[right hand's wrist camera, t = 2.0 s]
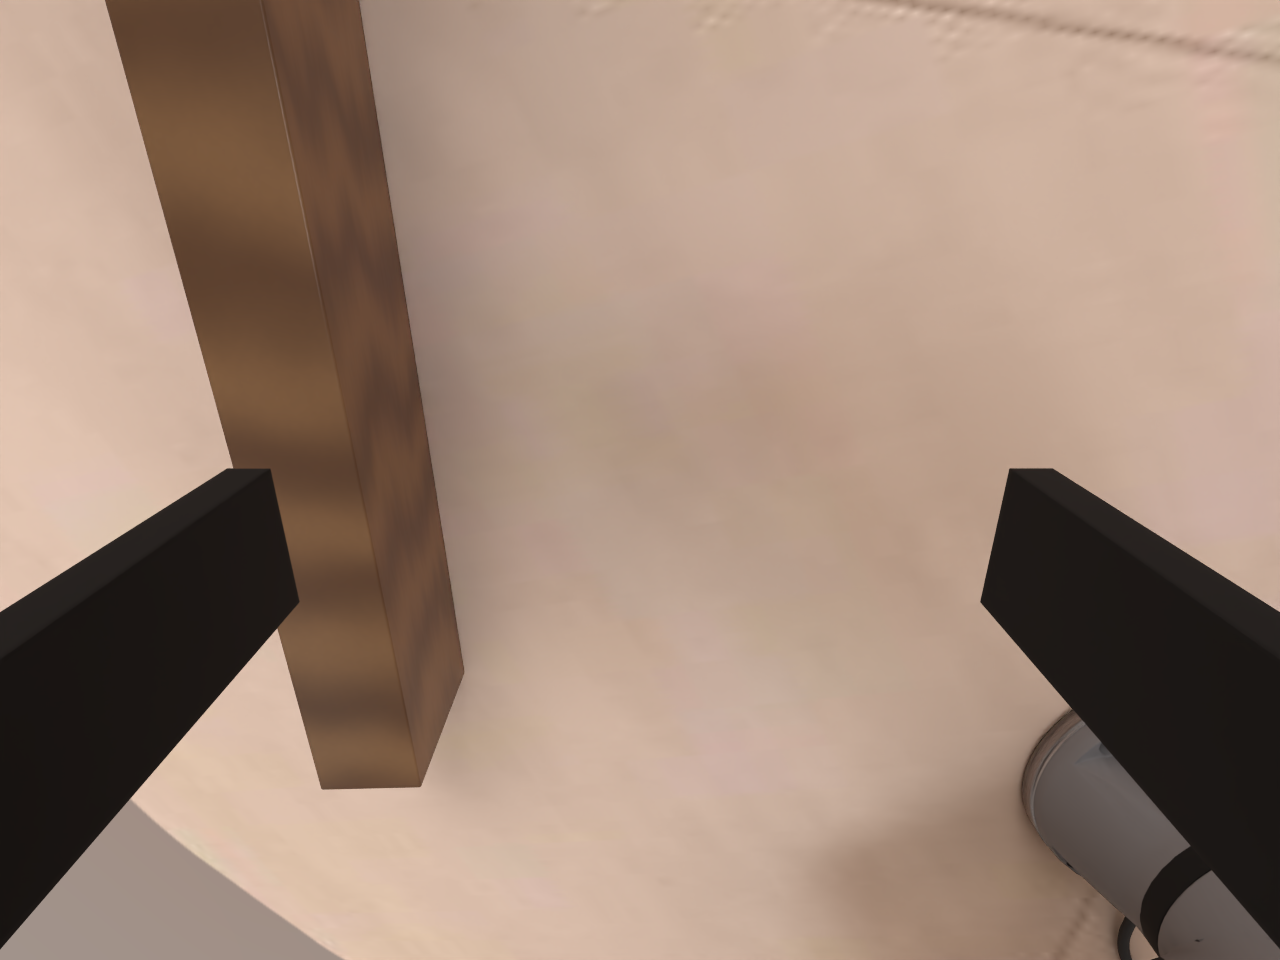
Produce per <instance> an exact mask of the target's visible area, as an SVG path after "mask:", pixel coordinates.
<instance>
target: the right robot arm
mask: <svg viewBox="0 0 1280 960" xmlns="http://www.w3.org/2000/svg"><path fill="white" fill-rule="evenodd" d="M299 602H300V601H299V596H298V592H297V587H296V583H295V578H294V574H293V569H292V565H291V560H290V555H289V551H288V546H287V542H286V537H285V533H284V528H283V524H282V519H281V514H280V510H279V505H278V501H277V496H276V492H275V487H274V482H273V478H272V473H271V469H226V470H224V471H223V472H221V473H219V474H218V475H216V476H215V477H213V478H212V479H210V480H208V481H207V482H205V483H204V484H202V485H201V486H199V487H197V488H196V489H194V490H193V491H191V492H189V493H188V494H186V495H185V496H183V497H182V498H180V499H178V500H177V501H175V502H174V503H172V504H170V505H169V506H167V507H166V508H164V509H163V510H161V511H159V512H158V513H156V514H155V515H153V516H152V517H150V518H148V519H147V520H145V521H144V522H142V523H140V524H139V525H137V526H136V527H134V528H133V529H131V530H129V531H128V532H126V533H125V534H123V535H121V536H120V537H118V538H117V539H115V540H114V541H112V542H110V543H109V544H107V545H106V546H104V547H103V548H101V549H99V550H98V551H96V552H95V553H93V554H91V555H90V556H88V557H87V558H85V559H84V560H82V561H80V562H79V563H77V564H76V565H74V566H72V567H71V568H69V569H68V570H66V571H65V572H63V573H61V574H60V575H58V576H57V577H55V578H54V579H52V580H50V581H49V582H47V583H46V584H44V585H42V586H41V587H39V588H38V589H36V590H35V591H33V592H31V593H30V594H28V595H27V596H25V597H23V598H22V599H20V600H19V601H17V602H16V603H14V604H12V605H11V606H9V607H8V608H6V609H4V610H3V611H1V612H0V949H1V948H2V947H3V945H4V944H5V943H6V942H7V941H8V940H9V938H10V937H11V936H12V935H13V934H14V933H15V932H16V930H17V929H18V928H19V927H20V926H21V925H22V923H23V922H24V921H25V920H26V919H27V918H28V916H29V915H30V914H31V913H32V912H33V911H34V910H35V908H36V907H37V906H38V905H39V904H40V903H41V901H42V900H43V899H44V898H45V897H46V896H47V894H48V893H49V892H50V891H51V890H52V889H53V887H54V886H55V885H56V884H57V883H58V882H59V881H60V879H61V878H62V877H63V876H64V875H65V874H66V872H67V871H68V870H69V869H70V868H71V867H72V865H73V864H74V863H75V862H76V861H77V860H78V859H79V857H80V856H81V855H82V854H83V853H84V852H85V850H86V849H87V848H88V847H89V846H90V845H91V843H92V842H93V841H94V840H95V839H96V838H97V836H98V835H99V834H100V833H101V832H102V831H103V830H104V828H105V827H106V826H107V825H108V824H109V823H110V821H111V820H112V819H113V818H114V817H115V816H116V814H117V813H118V812H119V811H120V810H121V809H122V807H123V806H124V805H125V804H126V803H127V802H128V801H129V799H130V798H131V797H132V796H133V795H134V794H135V792H136V791H137V790H138V789H139V788H140V787H141V785H142V784H143V783H144V782H145V781H146V780H147V779H148V777H149V776H150V775H151V774H152V773H153V772H154V770H155V769H156V768H157V767H158V766H159V765H160V763H161V762H162V761H163V760H164V759H165V758H166V756H167V755H168V754H169V753H170V752H171V751H172V750H173V748H174V747H175V746H176V745H177V744H178V743H179V741H180V740H181V739H182V738H183V737H184V736H185V734H186V733H187V732H188V731H189V730H190V729H191V728H192V726H193V725H194V724H195V723H196V722H197V721H198V719H199V718H200V717H201V716H202V715H203V714H204V712H205V711H206V710H207V709H208V708H209V707H210V705H211V704H212V703H213V702H214V701H215V700H216V699H217V697H218V696H219V695H220V694H221V693H222V692H223V690H224V689H225V688H226V687H227V686H228V685H229V683H230V682H231V681H232V680H233V679H234V678H235V676H236V675H237V674H238V673H239V672H240V671H241V670H242V668H243V667H244V666H245V665H246V664H247V663H248V661H249V660H250V659H251V658H252V657H253V656H254V654H255V653H256V652H257V651H258V650H259V649H260V648H261V646H262V645H263V644H264V643H265V642H266V641H267V639H268V638H269V637H270V636H271V635H272V634H273V632H274V631H275V630H276V629H277V628H278V627H279V625H280V624H281V623H282V622H283V621H284V620H285V619H286V617H287V616H288V615H289V614H290V613H291V612H292V610H293V609H294V608H295V607H296V606H297V605H298V603H299ZM980 602H981V603H982V605H983V606H984V607H985V608H986V609H987V610H988V612H989V613H990V614H991V615H992V616H993V617H994V619H995V620H996V621H997V622H998V623H999V624H1000V625H1001V627H1002V628H1003V629H1004V630H1005V631H1006V632H1007V634H1008V635H1009V636H1010V637H1011V638H1012V639H1013V641H1014V642H1015V643H1016V644H1017V645H1018V646H1019V648H1020V649H1021V650H1022V651H1023V652H1024V653H1025V654H1026V656H1027V657H1028V658H1029V659H1030V660H1031V661H1032V663H1033V664H1034V665H1035V666H1036V667H1037V668H1038V670H1039V671H1040V672H1041V673H1042V674H1043V675H1044V676H1045V678H1046V679H1047V680H1048V681H1049V682H1050V683H1051V685H1052V686H1053V687H1054V688H1055V689H1056V690H1057V692H1058V693H1059V694H1060V695H1061V696H1062V697H1063V699H1064V700H1065V701H1066V702H1067V703H1068V704H1069V705H1070V707H1071V708H1072V709H1073V710H1072V711H1071V712H1070V713H1068V714H1067V715H1066V716H1064V717H1063V718H1062V719H1061V720H1060V721H1059V722H1057V723H1056V724H1055V725H1054V726H1053V727H1052V728H1051V729H1050V730H1049V732H1048V733H1047V734H1046V735H1045V736H1044V738H1043V739H1042V740H1041V741H1040V743H1039V744H1038V746H1037V747H1036V749H1035V750H1034V752H1033V754H1032V756H1031V758H1030V760H1029V762H1028V765H1027V767H1026V771H1025V774H1024V779H1023V787H1022V795H1023V803H1024V807H1025V810H1026V813H1027V815H1028V817H1029V819H1030V821H1031V822H1032V824H1033V826H1034V827H1035V829H1036V830H1037V832H1038V833H1039V835H1040V837H1041V838H1042V840H1043V841H1044V842H1045V843H1046V845H1047V846H1048V847H1049V848H1050V849H1051V851H1052V852H1053V853H1054V854H1055V855H1056V856H1057V858H1058V859H1059V860H1060V861H1062V862H1063V863H1064V864H1065V865H1066V866H1068V867H1069V868H1070V869H1072V870H1073V871H1074V872H1075V873H1077V874H1078V875H1080V876H1082V877H1083V878H1084V879H1085V880H1086V881H1087V882H1089V883H1090V884H1091V885H1092V886H1093V887H1094V888H1095V889H1096V890H1097V891H1098V892H1099V893H1100V894H1101V895H1102V896H1104V897H1105V898H1106V899H1107V900H1108V901H1109V902H1110V903H1111V904H1112V905H1113V906H1115V907H1116V908H1117V909H1118V910H1119V911H1120V912H1121V913H1122V914H1124V915H1125V918H1124V920H1123V922H1122V924H1121V927H1120V930H1119V934H1118V951H1119V955H1120V958H1121V960H1132V958H1131V955H1130V949H1129V942H1130V937H1131V935H1132V932H1133V930H1134V928H1135V927H1136V926H1137V927H1138V929H1139V930H1140V931H1141V932H1142V934H1143V935H1144V936H1145V938H1146V939H1147V941H1148V942H1149V944H1150V945H1151V946H1152V948H1153V949H1154V951H1155V952H1156V954H1157V955H1158V958H1155V959H1152V960H1280V612H1279V611H1277V610H1275V609H1274V608H1272V607H1271V606H1269V605H1268V604H1266V603H1264V602H1263V601H1261V600H1260V599H1258V598H1257V597H1255V596H1253V595H1252V594H1250V593H1249V592H1247V591H1245V590H1244V589H1242V588H1241V587H1239V586H1238V585H1236V584H1234V583H1233V582H1231V581H1230V580H1228V579H1226V578H1225V577H1223V576H1222V575H1220V574H1219V573H1217V572H1215V571H1214V570H1212V569H1211V568H1209V567H1208V566H1206V565H1204V564H1203V563H1201V562H1200V561H1198V560H1196V559H1195V558H1193V557H1192V556H1190V555H1189V554H1187V553H1185V552H1184V551H1182V550H1181V549H1179V548H1177V547H1176V546H1174V545H1173V544H1171V543H1170V542H1168V541H1166V540H1165V539H1163V538H1162V537H1160V536H1159V535H1157V534H1155V533H1154V532H1152V531H1151V530H1149V529H1147V528H1146V527H1144V526H1143V525H1141V524H1140V523H1138V522H1136V521H1135V520H1133V519H1132V518H1130V517H1128V516H1127V515H1125V514H1124V513H1122V512H1121V511H1119V510H1117V509H1116V508H1114V507H1113V506H1111V505H1110V504H1108V503H1106V502H1105V501H1103V500H1102V499H1100V498H1098V497H1097V496H1095V495H1094V494H1092V493H1091V492H1089V491H1087V490H1086V489H1084V488H1083V487H1081V486H1079V485H1078V484H1076V483H1075V482H1073V481H1072V480H1070V479H1068V478H1067V477H1065V476H1064V475H1062V474H1061V473H1059V472H1057V471H1056V470H1054V469H1009V473H1008V478H1007V482H1006V487H1005V492H1004V496H1003V501H1002V505H1001V510H1000V514H999V519H998V524H997V528H996V533H995V537H994V542H993V546H992V551H991V555H990V560H989V565H988V569H987V574H986V578H985V583H984V587H983V592H982V596H981V601H980Z"/></svg>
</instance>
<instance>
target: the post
mask: <svg viewBox="0 0 1280 960" xmlns="http://www.w3.org/2000/svg"><path fill="white" fill-rule="evenodd" d="M105 2H106V5H107V9H108V13H109V16H110V20H111V23H112V27H113V31H114V34H115V38H116V42H117V45H118V49H119V53H120V56H121V60H122V64H123V67H124V71H125V74H126V78H127V82H128V85H129V89H130V93H131V96H132V100H133V104H134V107H135V111H136V115H137V118H138V122H139V125H140V129H141V133H142V136H143V140H144V144H145V147H146V151H147V155H148V158H149V162H150V166H151V169H152V173H153V177H154V180H155V184H156V187H157V191H158V195H159V198H160V202H161V206H162V209H163V213H164V217H165V220H166V224H167V228H168V231H169V235H170V238H171V242H172V246H173V249H174V253H175V257H176V260H177V264H178V268H179V271H180V275H181V279H182V282H183V286H184V289H185V293H186V297H187V300H188V304H189V308H190V311H191V315H192V319H193V322H194V326H195V330H196V333H197V337H198V340H199V344H200V348H201V351H202V355H203V359H204V362H205V366H206V370H207V373H208V377H209V381H210V384H211V388H212V392H213V395H214V399H215V402H216V406H217V410H218V413H219V417H220V421H221V424H222V428H223V432H224V435H225V439H226V443H227V446H228V450H229V453H230V457H231V461H232V464H233V468H234V469H271V473H272V478H273V482H274V487H275V492H276V496H277V501H278V505H279V510H280V514H281V519H282V524H283V528H284V533H285V537H286V542H287V546H288V551H289V555H290V560H291V565H292V569H293V574H294V578H295V583H296V587H297V592H298V596H299V601H300V602H299V603H298V605H297V606H296V607H295V608H294V609H293V610H292V612H291V613H290V614H289V615H288V616H287V617H286V619H285V620H284V621H283V622H282V623H281V624H280V625H279V627H278V632H279V636H280V639H281V643H282V647H283V650H284V654H285V658H286V661H287V665H288V668H289V672H290V676H291V679H292V683H293V687H294V690H295V694H296V698H297V701H298V705H299V709H300V712H301V716H302V719H303V723H304V727H305V730H306V734H307V738H308V741H309V745H310V749H311V752H312V756H313V760H314V763H315V767H316V770H317V774H318V778H319V781H320V785H321V788H322V789H364V788H406V787H421V785H422V782H423V780H424V777H425V774H426V772H427V769H428V767H429V764H430V761H431V759H432V756H433V753H434V751H435V748H436V746H437V743H438V740H439V738H440V735H441V732H442V730H443V727H444V725H445V722H446V719H447V717H448V714H449V711H450V709H451V706H452V703H453V701H454V698H455V696H456V693H457V690H458V688H459V685H460V682H461V680H462V677H463V675H464V669H463V663H462V657H461V650H460V644H459V638H458V631H457V625H456V618H455V612H454V606H453V599H452V593H451V587H450V580H449V574H448V568H447V561H446V555H445V549H444V542H443V536H442V530H441V523H440V517H439V510H438V504H437V498H436V491H435V485H434V479H433V472H432V466H431V460H430V453H429V447H428V441H427V434H426V428H425V421H424V415H423V409H422V402H421V396H420V390H419V383H418V377H417V371H416V364H415V358H414V352H413V345H412V339H411V333H410V326H409V320H408V313H407V307H406V301H405V294H404V288H403V282H402V275H401V269H400V263H399V256H398V250H397V244H396V237H395V231H394V224H393V218H392V212H391V205H390V199H389V193H388V186H387V180H386V174H385V167H384V161H383V155H382V148H381V142H380V136H379V129H378V123H377V116H376V110H375V104H374V97H373V91H372V85H371V78H370V72H369V66H368V59H367V53H366V47H365V40H364V34H363V27H362V21H361V15H360V8H359V2H358V0H105Z"/></svg>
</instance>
